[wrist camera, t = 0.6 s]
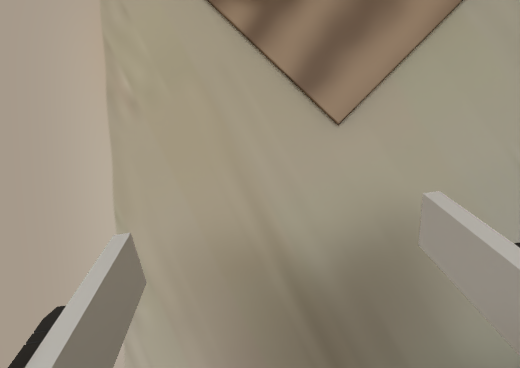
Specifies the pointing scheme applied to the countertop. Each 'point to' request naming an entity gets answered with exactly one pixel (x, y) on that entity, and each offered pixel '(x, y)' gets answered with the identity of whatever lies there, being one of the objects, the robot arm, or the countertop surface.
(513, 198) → the countertop surface
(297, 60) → the base plate
